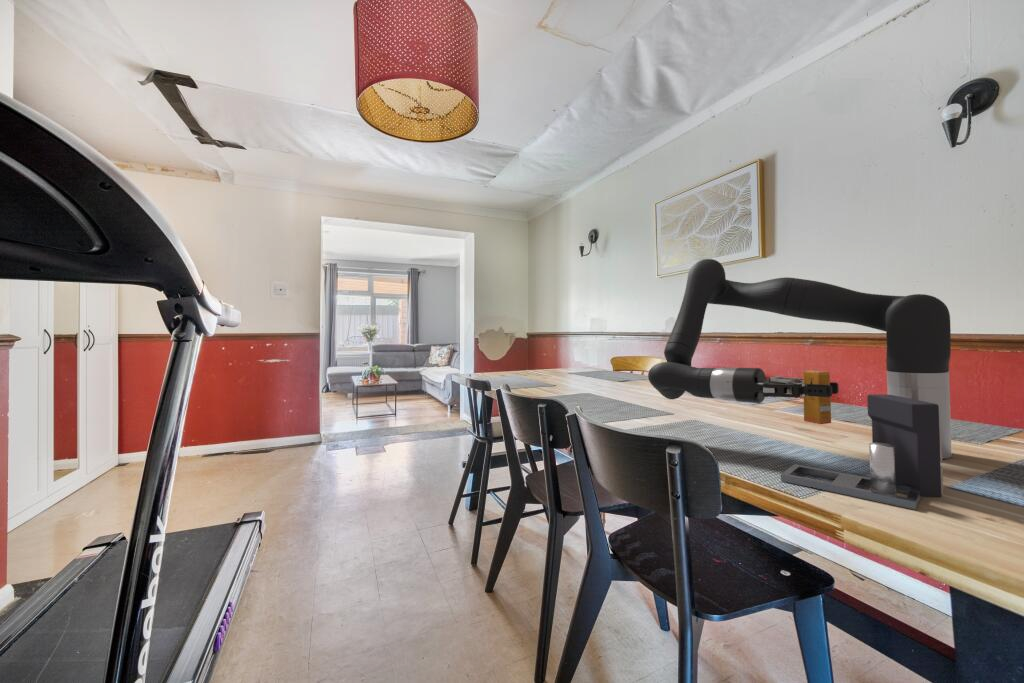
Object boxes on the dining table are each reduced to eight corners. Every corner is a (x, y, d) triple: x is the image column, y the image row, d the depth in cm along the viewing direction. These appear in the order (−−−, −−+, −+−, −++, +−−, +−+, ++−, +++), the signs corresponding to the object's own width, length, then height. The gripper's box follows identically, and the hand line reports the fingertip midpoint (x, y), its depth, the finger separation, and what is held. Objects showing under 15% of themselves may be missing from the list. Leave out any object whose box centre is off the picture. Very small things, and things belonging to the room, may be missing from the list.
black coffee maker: (948, 500, 62) (945, 404, 62) (915, 499, 63) (912, 404, 63) (896, 476, 73) (894, 394, 73) (869, 475, 74) (866, 394, 74)
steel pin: (872, 489, 66) (871, 441, 66) (897, 494, 64) (896, 444, 64) (869, 494, 64) (867, 445, 64) (894, 500, 62) (893, 448, 62)
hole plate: (794, 470, 76) (794, 464, 76) (921, 494, 63) (921, 487, 63) (781, 481, 71) (780, 474, 71) (915, 509, 58) (915, 501, 58)
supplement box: (833, 423, 76) (831, 370, 76) (819, 425, 76) (817, 372, 75) (816, 419, 80) (814, 369, 79) (802, 421, 79) (800, 370, 79)
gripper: (723, 370, 84) (824, 373, 71) (749, 365, 93) (843, 366, 80) (724, 405, 84) (826, 415, 71) (750, 397, 93) (844, 404, 80)
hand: (834, 389), depth 75 cm, fingers closed on supplement box, 4 cm apart
